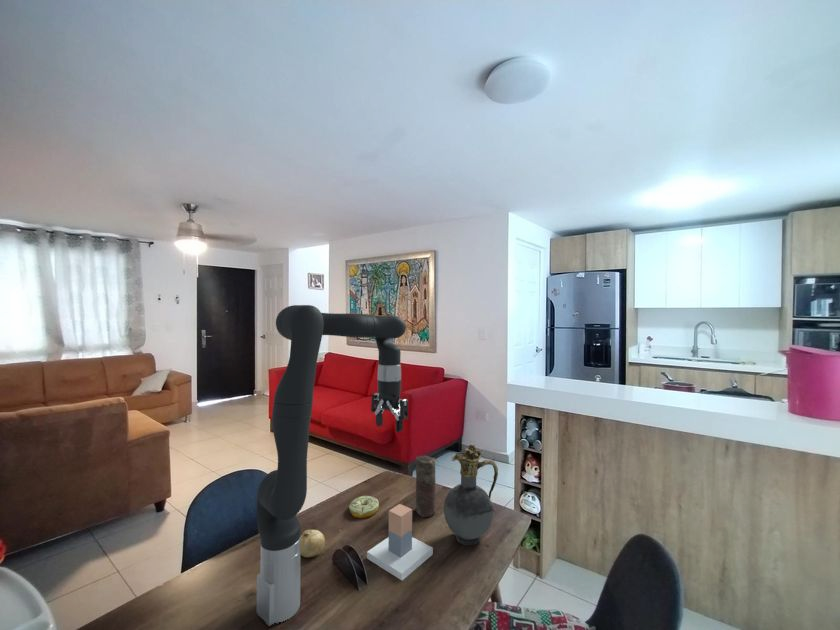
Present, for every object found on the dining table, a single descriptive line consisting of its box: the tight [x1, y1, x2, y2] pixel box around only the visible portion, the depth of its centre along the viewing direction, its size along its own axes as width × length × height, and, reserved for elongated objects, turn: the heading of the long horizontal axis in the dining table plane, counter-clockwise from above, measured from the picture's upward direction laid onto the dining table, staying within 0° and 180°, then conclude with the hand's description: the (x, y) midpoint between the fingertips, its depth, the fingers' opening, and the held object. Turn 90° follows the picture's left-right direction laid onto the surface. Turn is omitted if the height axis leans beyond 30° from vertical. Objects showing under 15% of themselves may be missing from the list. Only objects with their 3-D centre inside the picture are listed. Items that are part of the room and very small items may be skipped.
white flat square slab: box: [366, 536, 434, 581], centre depth 109 cm, size 14×14×2 cm
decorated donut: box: [348, 495, 380, 519], centre depth 133 cm, size 10×11×4 cm
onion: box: [300, 528, 326, 558], centre depth 110 cm, size 8×8×7 cm
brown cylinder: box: [415, 455, 437, 518], centre depth 133 cm, size 8×7×20 cm
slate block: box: [388, 529, 413, 558], centre depth 109 cm, size 5×5×6 cm
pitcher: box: [443, 444, 499, 546], centre depth 118 cm, size 11×19×30 cm, turn 113°
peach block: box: [388, 503, 413, 537], centre depth 109 cm, size 5×5×6 cm
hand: (389, 428), depth 116 cm, fingers open, 8 cm apart
